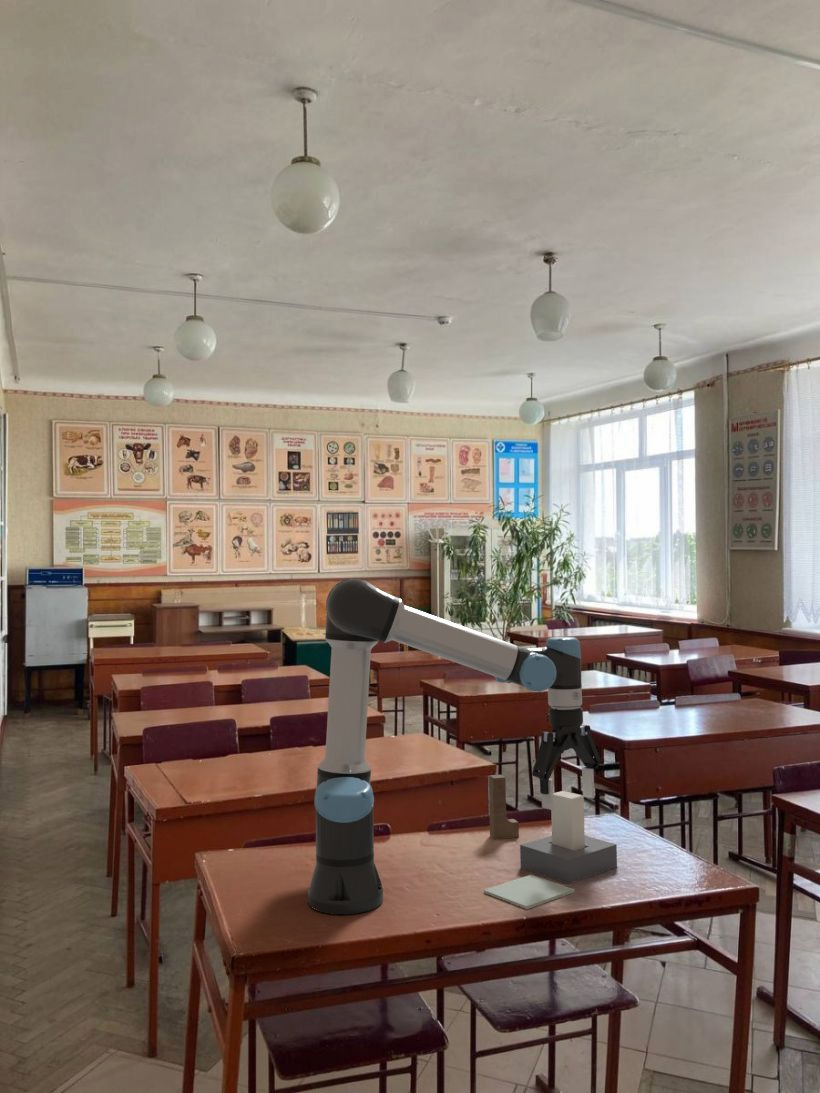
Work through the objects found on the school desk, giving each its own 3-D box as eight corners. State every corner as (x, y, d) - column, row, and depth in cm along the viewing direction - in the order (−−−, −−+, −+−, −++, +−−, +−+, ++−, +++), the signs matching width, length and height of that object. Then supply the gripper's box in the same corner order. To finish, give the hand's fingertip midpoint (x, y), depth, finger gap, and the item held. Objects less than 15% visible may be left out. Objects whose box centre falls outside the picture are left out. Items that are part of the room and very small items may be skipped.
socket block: (569, 883, 188) (568, 859, 189) (520, 867, 199) (520, 844, 199) (617, 867, 199) (616, 844, 199) (568, 852, 209) (568, 830, 210)
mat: (526, 909, 175) (526, 906, 175) (483, 892, 184) (483, 889, 184) (574, 892, 183) (574, 889, 183) (531, 877, 193) (531, 874, 193)
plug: (573, 872, 195) (571, 798, 196) (552, 866, 200) (550, 793, 200) (585, 868, 198) (583, 795, 198) (564, 862, 203) (562, 790, 203)
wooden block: (494, 839, 220) (493, 778, 221) (489, 836, 224) (488, 775, 224) (519, 837, 222) (518, 776, 223) (514, 833, 225) (512, 773, 226)
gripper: (539, 715, 189) (542, 816, 189) (614, 702, 205) (617, 795, 204) (514, 711, 195) (517, 810, 194) (588, 699, 211) (591, 790, 210)
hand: (568, 802), depth 199 cm, fingers open, 13 cm apart
